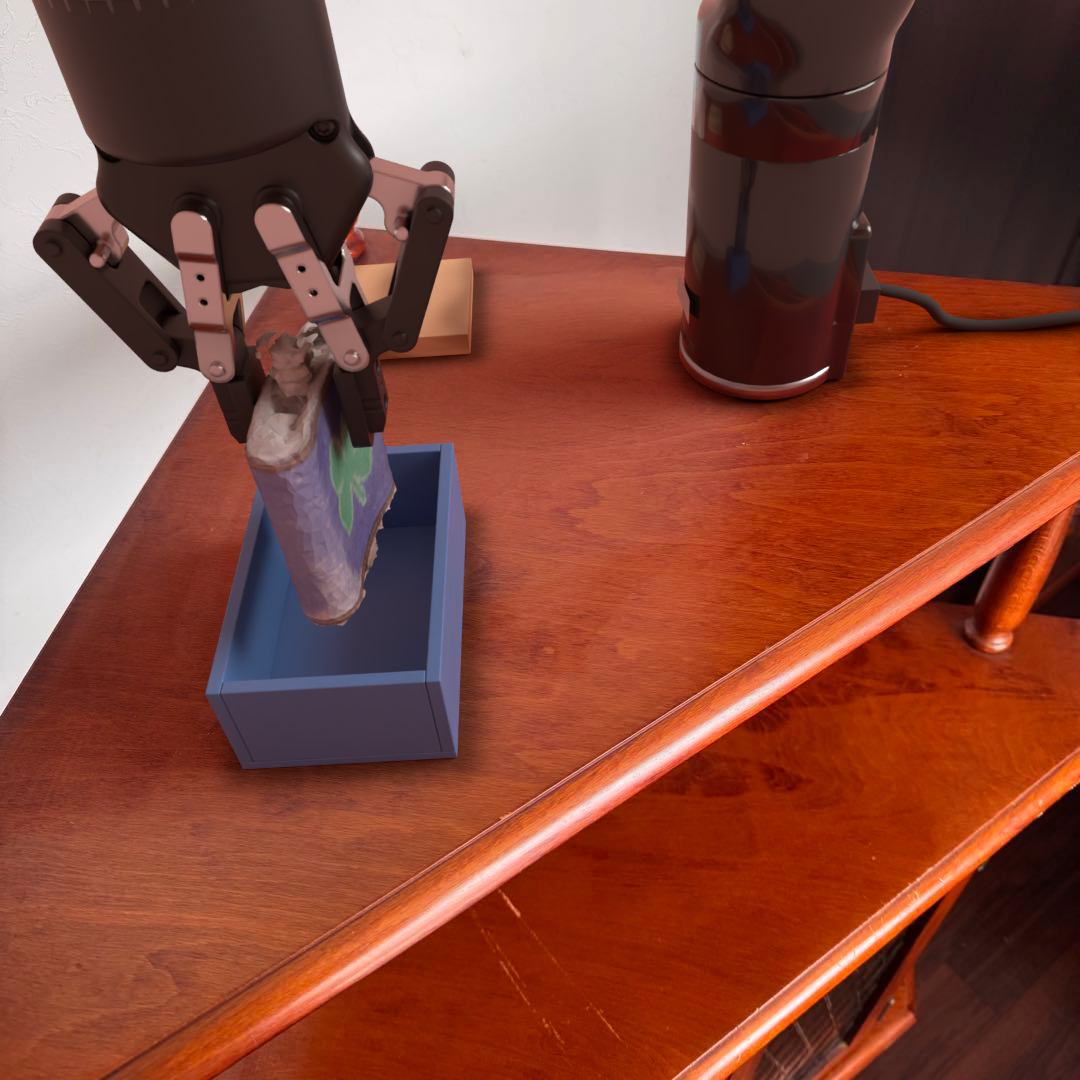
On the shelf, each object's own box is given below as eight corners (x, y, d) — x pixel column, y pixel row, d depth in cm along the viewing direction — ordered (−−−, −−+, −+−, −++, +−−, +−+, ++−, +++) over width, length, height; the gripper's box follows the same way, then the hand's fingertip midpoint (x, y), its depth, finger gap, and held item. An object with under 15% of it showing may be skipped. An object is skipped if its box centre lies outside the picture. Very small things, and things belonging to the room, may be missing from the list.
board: (473, 276, 69) (471, 257, 68) (470, 354, 63) (467, 334, 62) (343, 285, 70) (339, 266, 68) (327, 363, 63) (322, 343, 62)
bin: (466, 522, 53) (453, 441, 49) (457, 757, 43) (440, 680, 39) (291, 532, 53) (264, 453, 49) (242, 769, 43) (204, 694, 39)
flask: (355, 631, 40) (285, 420, 32) (284, 628, 40) (198, 419, 33) (404, 474, 46) (356, 266, 39) (343, 473, 47) (282, 267, 39)
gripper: (-161, 13, 24) (113, 521, 37) (425, -43, 24) (500, 490, 36) (-46, -79, 29) (159, 393, 42) (435, -126, 29) (498, 364, 41)
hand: (317, 436), depth 39 cm, fingers closed on flask, 3 cm apart
